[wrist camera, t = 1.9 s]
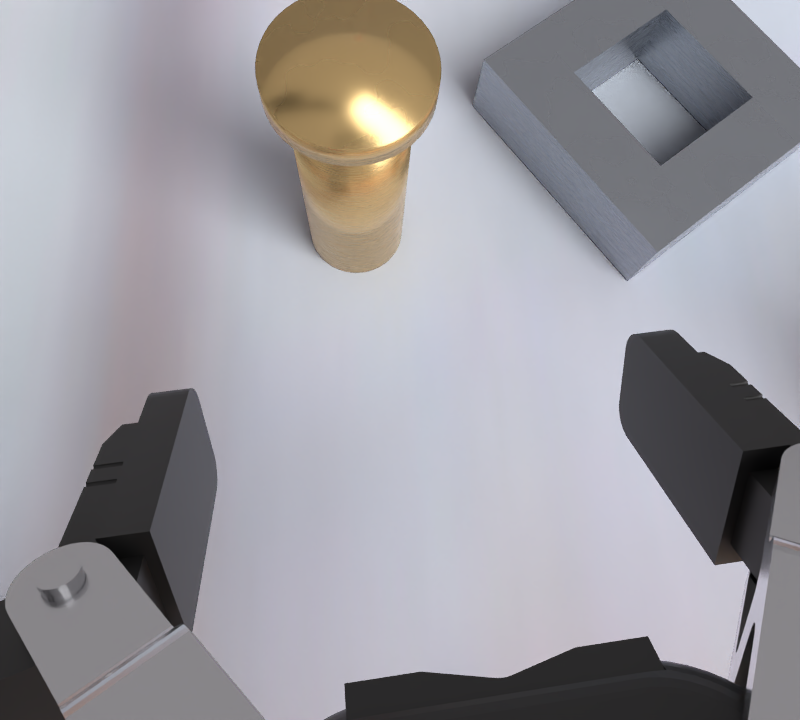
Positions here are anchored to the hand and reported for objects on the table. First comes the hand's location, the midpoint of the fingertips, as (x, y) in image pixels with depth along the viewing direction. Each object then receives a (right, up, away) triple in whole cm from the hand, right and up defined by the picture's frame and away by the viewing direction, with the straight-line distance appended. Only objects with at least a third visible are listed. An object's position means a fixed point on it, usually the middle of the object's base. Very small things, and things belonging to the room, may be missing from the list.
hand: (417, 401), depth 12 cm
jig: (+12, +13, +22) cm, 28 cm away
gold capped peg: (-2, +7, +20) cm, 21 cm away
